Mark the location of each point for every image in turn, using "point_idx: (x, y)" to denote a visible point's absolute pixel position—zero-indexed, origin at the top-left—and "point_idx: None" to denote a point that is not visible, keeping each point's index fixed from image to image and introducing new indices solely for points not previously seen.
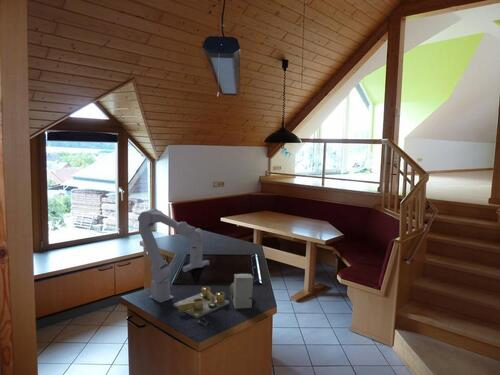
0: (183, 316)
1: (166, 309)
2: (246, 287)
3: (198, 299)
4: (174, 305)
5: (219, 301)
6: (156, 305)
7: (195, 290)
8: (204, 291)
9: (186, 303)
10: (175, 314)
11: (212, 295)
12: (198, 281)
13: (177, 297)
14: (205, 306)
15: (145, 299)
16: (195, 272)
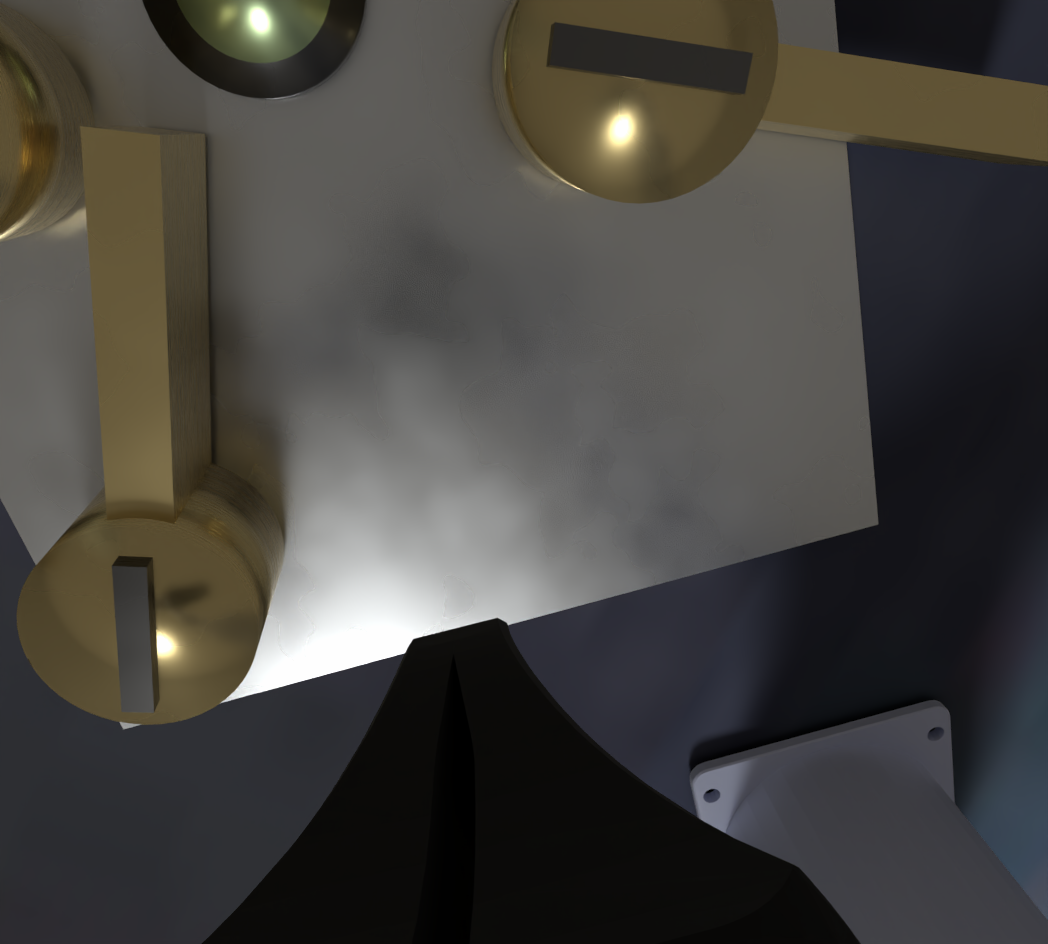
0: (934, 22)
1: (992, 454)
2: None
3: (647, 46)
4: (867, 476)
5: (9, 15)
6: (1021, 649)
7: (254, 866)
8: (224, 541)
9: (945, 102)
10: (992, 194)
11: (127, 180)
12: (429, 652)
13: (631, 757)
14: (412, 69)
15: (1020, 871)
16: (808, 878)
